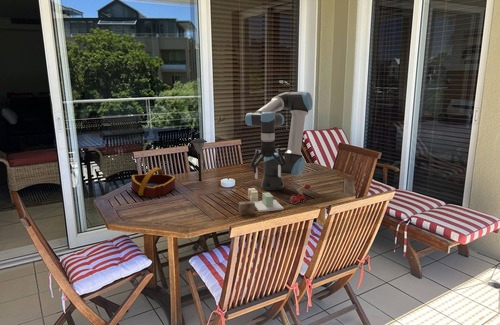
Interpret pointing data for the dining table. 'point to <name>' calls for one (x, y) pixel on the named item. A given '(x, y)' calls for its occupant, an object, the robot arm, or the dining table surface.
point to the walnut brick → (246, 207)
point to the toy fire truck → (300, 197)
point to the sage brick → (267, 199)
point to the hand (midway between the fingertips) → (267, 177)
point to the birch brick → (253, 194)
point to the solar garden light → (198, 146)
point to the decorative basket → (153, 183)
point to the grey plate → (262, 207)
